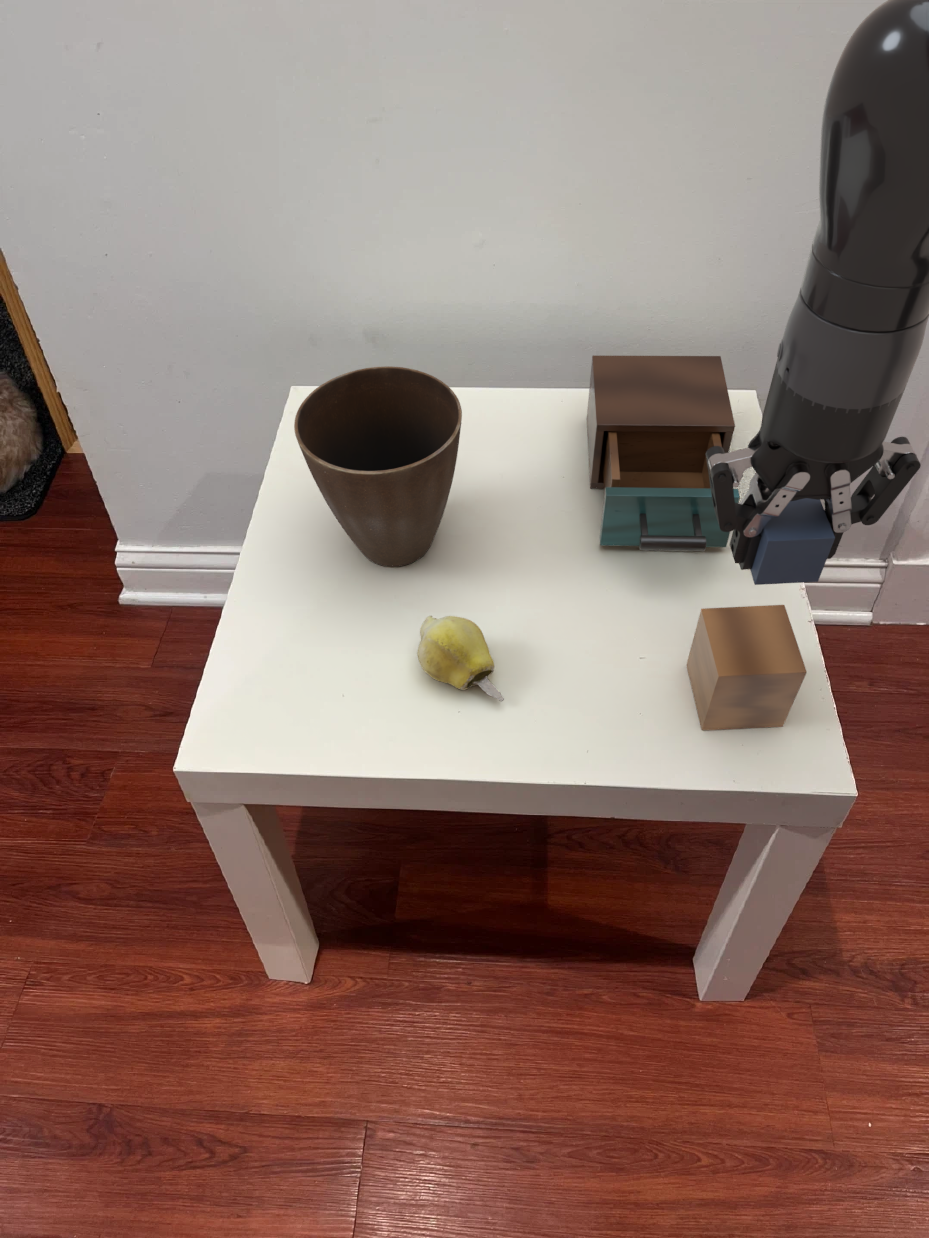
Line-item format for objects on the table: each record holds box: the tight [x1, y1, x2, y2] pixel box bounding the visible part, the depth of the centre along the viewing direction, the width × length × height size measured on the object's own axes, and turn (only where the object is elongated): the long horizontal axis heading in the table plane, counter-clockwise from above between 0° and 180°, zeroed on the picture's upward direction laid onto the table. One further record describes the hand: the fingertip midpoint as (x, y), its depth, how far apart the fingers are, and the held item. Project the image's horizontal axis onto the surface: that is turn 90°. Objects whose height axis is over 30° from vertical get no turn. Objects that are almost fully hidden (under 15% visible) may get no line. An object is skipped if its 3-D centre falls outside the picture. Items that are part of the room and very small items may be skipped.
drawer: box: [599, 431, 741, 552], centre depth 91 cm, size 15×12×7 cm
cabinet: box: [586, 354, 736, 490], centre depth 98 cm, size 12×14×9 cm
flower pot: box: [293, 365, 463, 568], centre depth 88 cm, size 15×15×16 cm
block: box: [749, 498, 835, 586], centre depth 67 cm, size 5×5×5 cm
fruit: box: [416, 615, 505, 702], centre depth 82 cm, size 6×6×10 cm
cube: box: [686, 604, 807, 731], centre depth 78 cm, size 7×7×8 cm
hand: (779, 558), depth 68 cm, fingers closed on block, 4 cm apart
